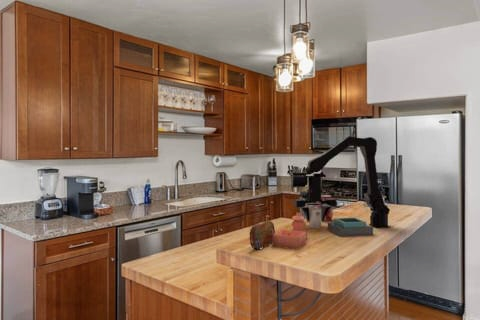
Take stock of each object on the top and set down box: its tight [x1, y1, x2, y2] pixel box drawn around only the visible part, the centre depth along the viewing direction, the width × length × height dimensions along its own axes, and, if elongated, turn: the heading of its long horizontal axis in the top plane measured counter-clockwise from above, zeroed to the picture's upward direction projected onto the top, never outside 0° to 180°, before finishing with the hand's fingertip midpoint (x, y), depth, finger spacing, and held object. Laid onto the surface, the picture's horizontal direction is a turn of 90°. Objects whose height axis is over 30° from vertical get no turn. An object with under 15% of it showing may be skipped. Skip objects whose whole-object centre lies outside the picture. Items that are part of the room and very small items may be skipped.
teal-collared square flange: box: [327, 217, 374, 237], centre depth 138 cm, size 14×12×5 cm
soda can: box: [317, 194, 334, 222], centre depth 164 cm, size 7×7×12 cm
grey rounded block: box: [308, 207, 322, 229], centre depth 148 cm, size 6×7×8 cm
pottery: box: [272, 212, 308, 250], centre depth 124 cm, size 18×10×10 cm, turn 151°
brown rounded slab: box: [249, 220, 276, 250], centre depth 119 cm, size 15×3×8 cm, turn 148°
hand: (315, 221), depth 149 cm, fingers open, 6 cm apart
